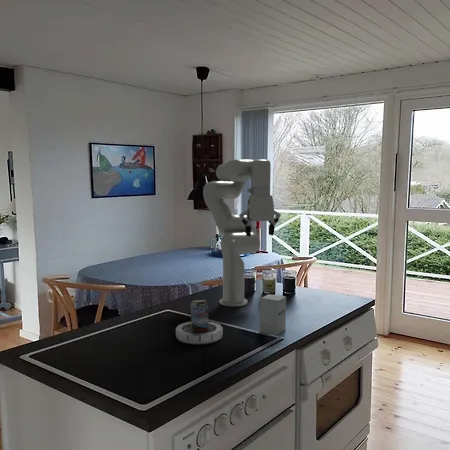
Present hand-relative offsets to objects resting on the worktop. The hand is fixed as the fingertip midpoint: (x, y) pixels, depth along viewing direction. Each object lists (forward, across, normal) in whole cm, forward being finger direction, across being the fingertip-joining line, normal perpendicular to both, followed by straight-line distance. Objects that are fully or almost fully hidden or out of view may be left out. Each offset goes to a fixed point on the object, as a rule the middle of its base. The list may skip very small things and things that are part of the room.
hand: (259, 235), depth 179 cm
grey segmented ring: (+33, -28, -14) cm, 46 cm away
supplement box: (+33, -1, -16) cm, 37 cm away
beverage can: (+32, -28, -13) cm, 45 cm away
